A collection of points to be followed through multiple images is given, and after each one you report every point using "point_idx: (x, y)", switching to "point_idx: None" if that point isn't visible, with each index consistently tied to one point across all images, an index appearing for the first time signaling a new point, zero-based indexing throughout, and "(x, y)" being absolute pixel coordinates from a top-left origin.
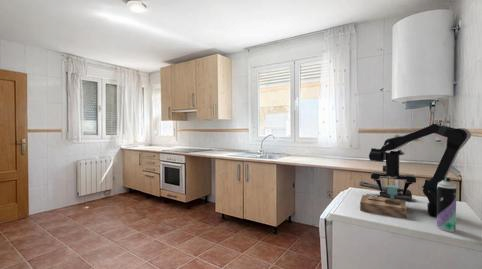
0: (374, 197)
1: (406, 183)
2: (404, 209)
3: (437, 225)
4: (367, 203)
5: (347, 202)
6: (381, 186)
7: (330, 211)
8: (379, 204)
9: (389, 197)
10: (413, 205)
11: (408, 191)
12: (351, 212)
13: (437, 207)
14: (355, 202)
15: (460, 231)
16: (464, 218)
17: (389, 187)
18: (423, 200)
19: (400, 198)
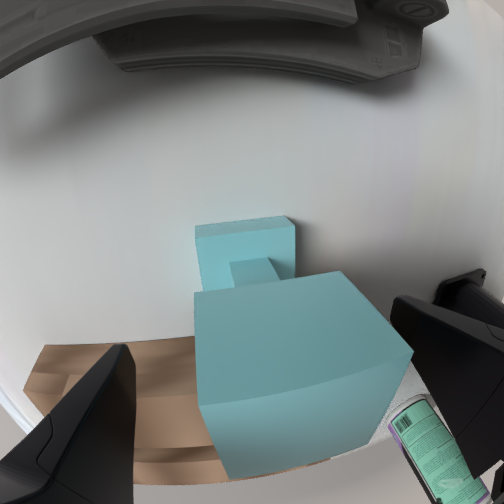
0: None
1: (480, 465)
2: None
3: (388, 427)
4: (148, 483)
5: (10, 378)
6: (121, 459)
7: None
8: (203, 481)
9: (204, 60)
10: (403, 189)
11: (434, 6)
12: None
13: (415, 472)
14: (26, 363)
15: (428, 398)
16: (500, 276)
17: (258, 472)
18: (447, 26)
19: (328, 70)
